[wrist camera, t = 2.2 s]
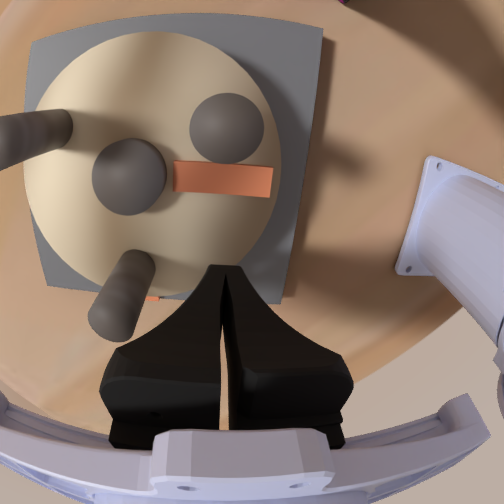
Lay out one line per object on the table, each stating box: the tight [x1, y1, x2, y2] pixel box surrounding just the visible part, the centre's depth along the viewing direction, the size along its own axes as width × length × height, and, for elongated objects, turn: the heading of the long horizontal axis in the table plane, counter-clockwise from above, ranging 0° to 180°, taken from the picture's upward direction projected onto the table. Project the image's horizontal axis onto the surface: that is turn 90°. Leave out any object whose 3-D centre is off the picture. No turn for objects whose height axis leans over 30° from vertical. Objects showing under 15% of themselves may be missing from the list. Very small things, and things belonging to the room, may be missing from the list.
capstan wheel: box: [0, 31, 281, 342], centre depth 9 cm, size 12×12×6 cm
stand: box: [24, 13, 323, 304], centre depth 12 cm, size 15×15×1 cm
